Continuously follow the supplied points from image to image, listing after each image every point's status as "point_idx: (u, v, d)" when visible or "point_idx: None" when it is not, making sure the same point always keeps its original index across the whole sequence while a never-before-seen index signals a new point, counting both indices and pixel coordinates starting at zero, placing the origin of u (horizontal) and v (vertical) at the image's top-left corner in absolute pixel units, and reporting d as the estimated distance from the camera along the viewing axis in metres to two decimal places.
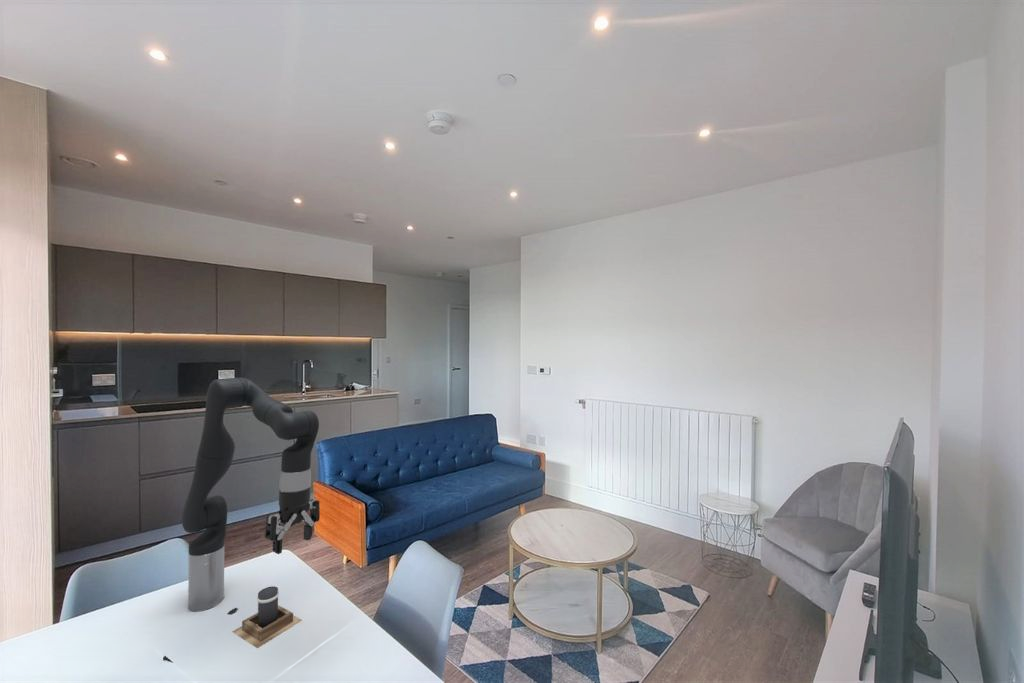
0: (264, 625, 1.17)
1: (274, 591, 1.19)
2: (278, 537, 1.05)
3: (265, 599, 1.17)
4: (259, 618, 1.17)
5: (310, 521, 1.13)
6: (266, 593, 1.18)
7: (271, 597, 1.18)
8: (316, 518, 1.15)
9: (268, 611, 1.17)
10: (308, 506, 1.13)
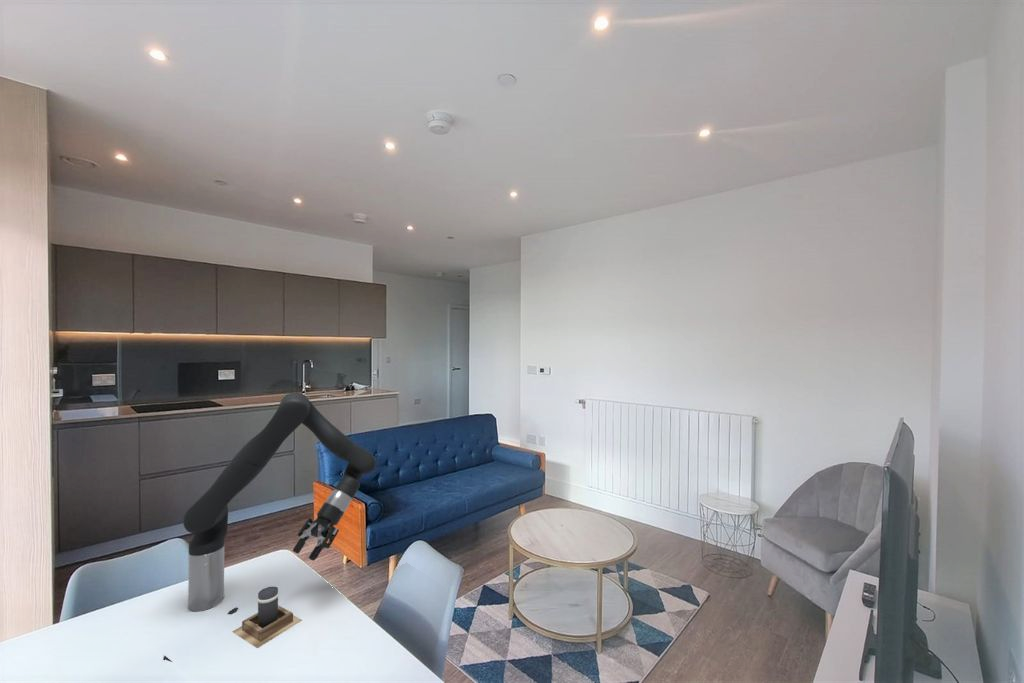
0: (264, 625, 1.17)
1: (274, 591, 1.19)
2: None
3: (265, 599, 1.17)
4: (259, 618, 1.17)
5: None
6: (266, 593, 1.18)
7: (271, 597, 1.18)
8: (305, 535, 1.36)
9: (268, 611, 1.17)
10: None
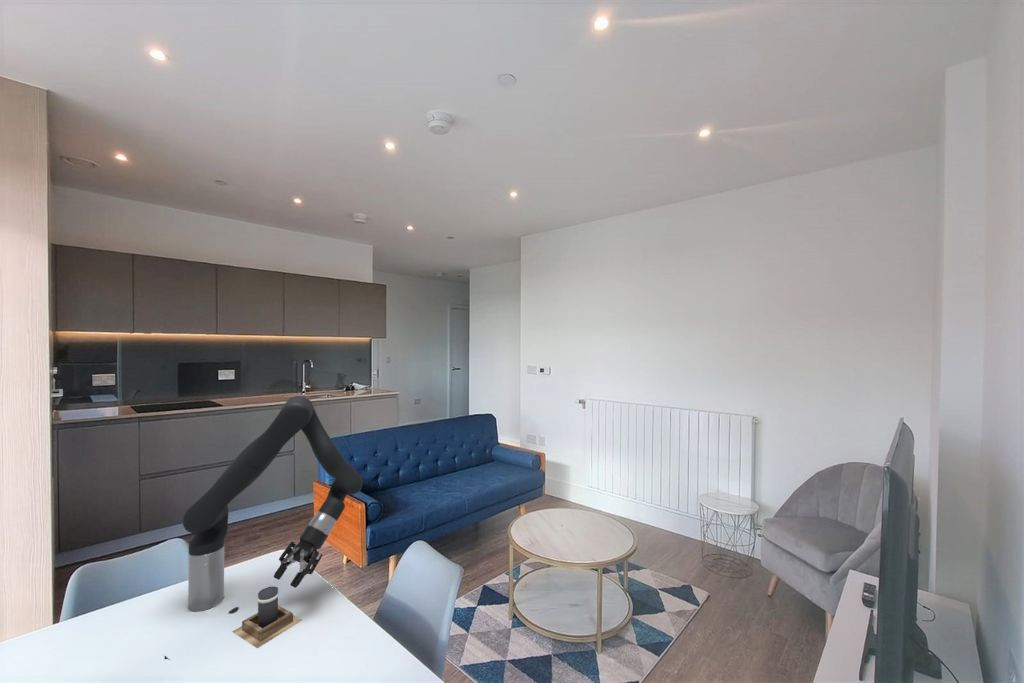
0: (264, 625, 1.17)
1: (274, 591, 1.19)
2: None
3: (265, 599, 1.17)
4: (259, 618, 1.17)
5: None
6: (266, 593, 1.18)
7: (271, 597, 1.18)
8: None
9: (268, 611, 1.17)
10: None
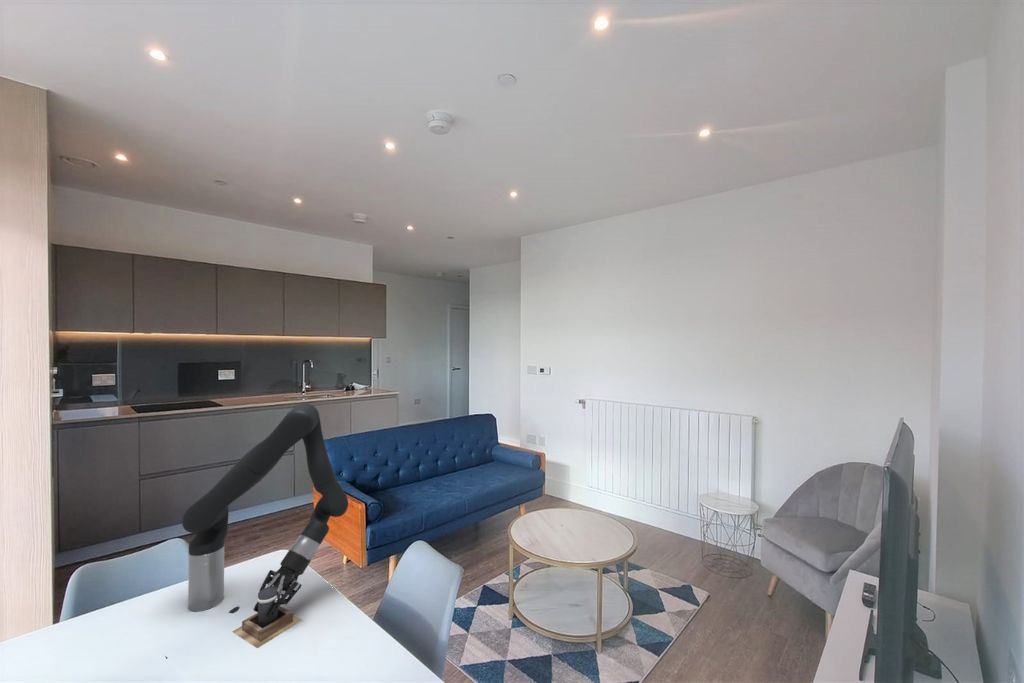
0: (264, 625, 1.17)
1: (274, 591, 1.19)
2: None
3: (265, 599, 1.17)
4: (259, 618, 1.17)
5: None
6: (266, 593, 1.18)
7: (271, 597, 1.18)
8: None
9: None
10: None
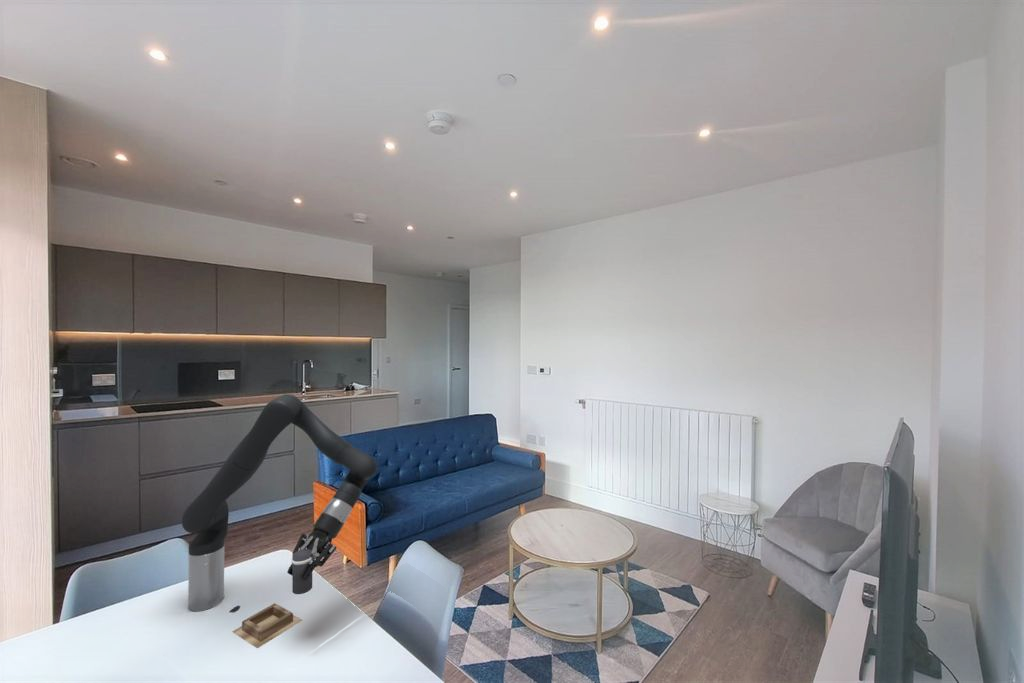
0: (299, 587, 1.13)
1: (308, 553, 1.15)
2: None
3: (300, 560, 1.13)
4: (294, 580, 1.13)
5: None
6: (300, 555, 1.14)
7: (306, 559, 1.13)
8: None
9: None
10: None
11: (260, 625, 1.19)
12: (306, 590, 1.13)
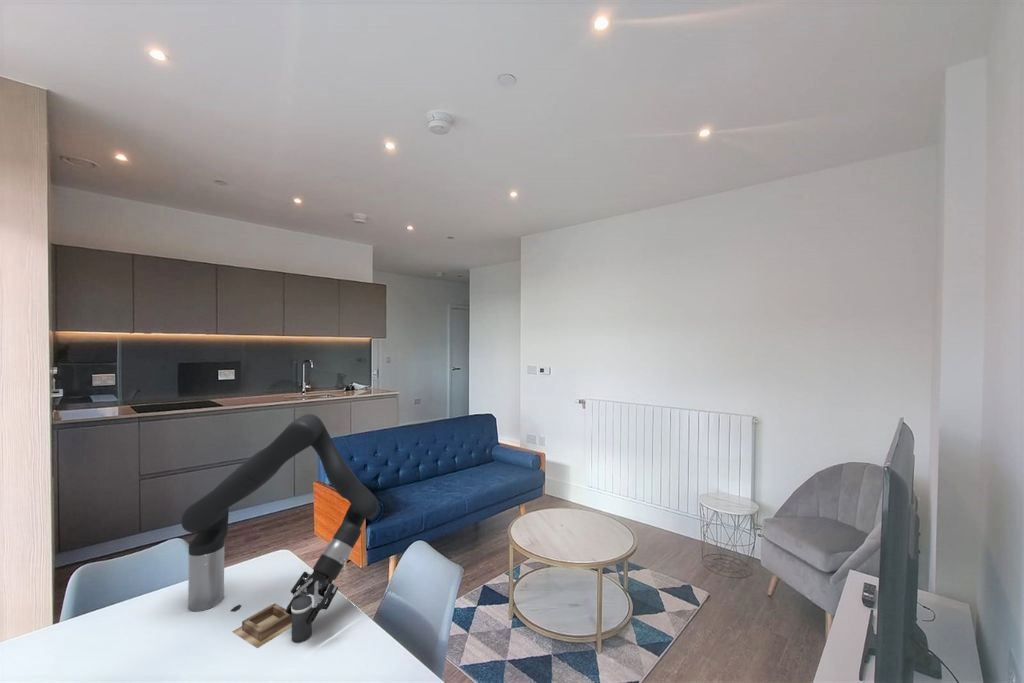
0: (298, 636, 1.13)
1: (308, 601, 1.15)
2: None
3: (299, 609, 1.13)
4: (293, 629, 1.13)
5: None
6: (300, 603, 1.14)
7: (305, 607, 1.13)
8: None
9: (302, 621, 1.13)
10: None
11: (260, 625, 1.19)
12: (305, 639, 1.13)
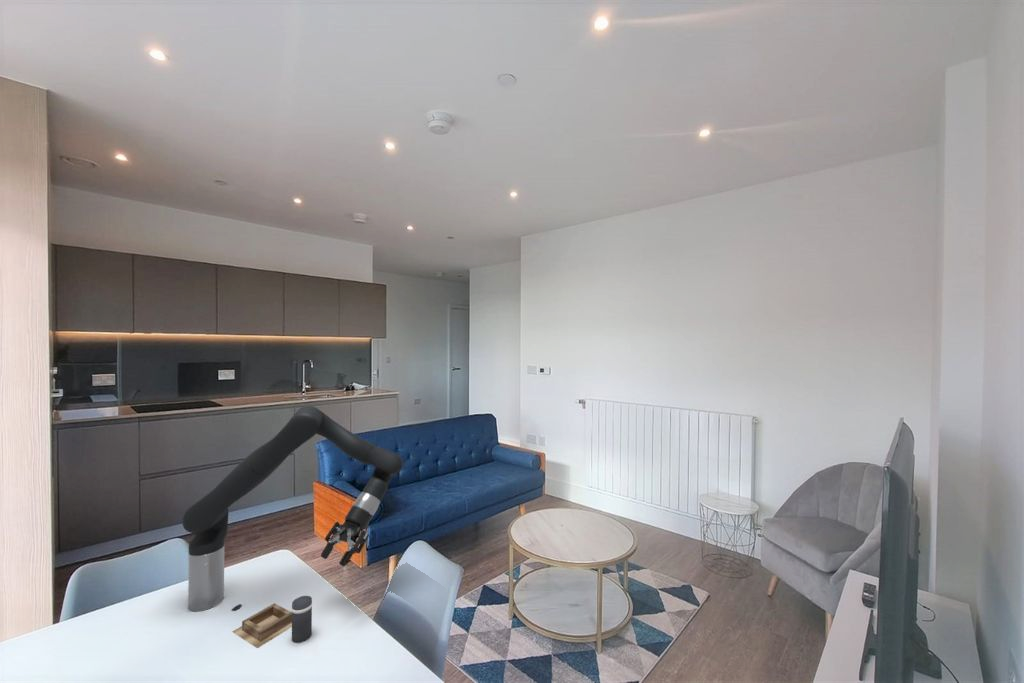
0: (298, 636, 1.13)
1: (308, 601, 1.15)
2: None
3: (299, 609, 1.13)
4: (293, 629, 1.13)
5: None
6: (300, 603, 1.14)
7: (305, 607, 1.13)
8: None
9: (302, 621, 1.13)
10: None
11: (260, 625, 1.19)
12: (305, 639, 1.13)
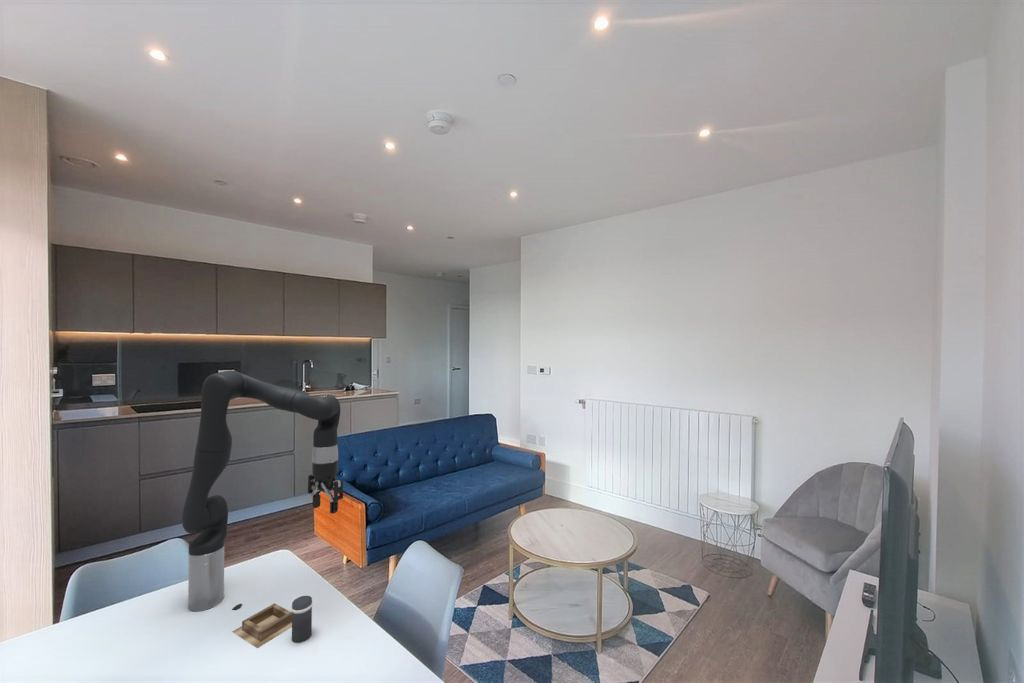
0: (298, 636, 1.13)
1: (308, 601, 1.15)
2: None
3: (299, 609, 1.13)
4: (293, 629, 1.13)
5: None
6: (300, 603, 1.14)
7: (305, 607, 1.13)
8: None
9: (302, 621, 1.13)
10: None
11: (260, 625, 1.19)
12: (305, 639, 1.13)
